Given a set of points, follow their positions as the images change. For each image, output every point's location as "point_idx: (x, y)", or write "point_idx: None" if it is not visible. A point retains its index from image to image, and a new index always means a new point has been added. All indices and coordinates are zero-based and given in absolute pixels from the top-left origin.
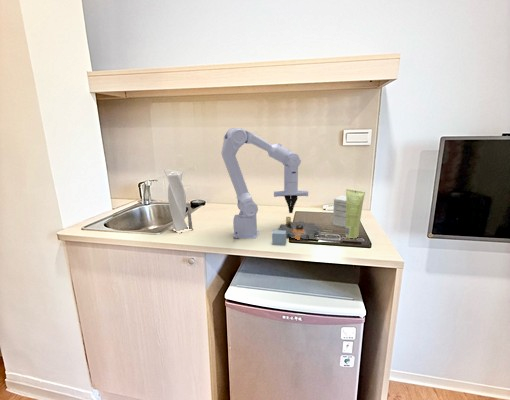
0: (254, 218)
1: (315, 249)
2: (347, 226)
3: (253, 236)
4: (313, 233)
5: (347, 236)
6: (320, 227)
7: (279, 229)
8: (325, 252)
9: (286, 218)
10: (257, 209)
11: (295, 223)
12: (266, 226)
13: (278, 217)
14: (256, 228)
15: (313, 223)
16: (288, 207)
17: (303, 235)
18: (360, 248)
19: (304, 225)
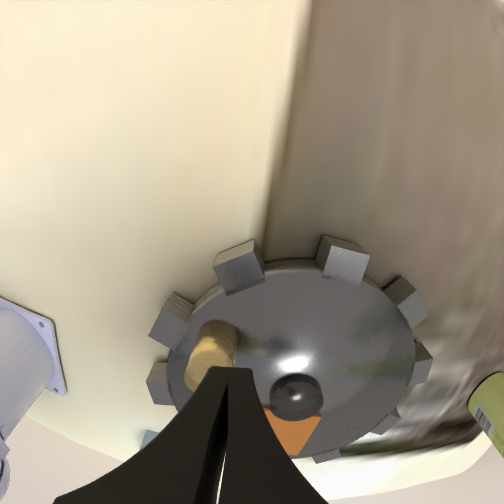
0: (8, 435)
1: (312, 480)
2: (490, 437)
3: (51, 381)
4: (351, 439)
5: (471, 412)
6: (426, 378)
7: (155, 397)
8: (335, 487)
9: (189, 382)
10: (4, 490)
11: (285, 305)
12: (69, 220)
13: (169, 5)
14: (37, 383)
15: (424, 311)
16: (190, 405)
17: (291, 456)
18: (447, 452)
19: (346, 351)
